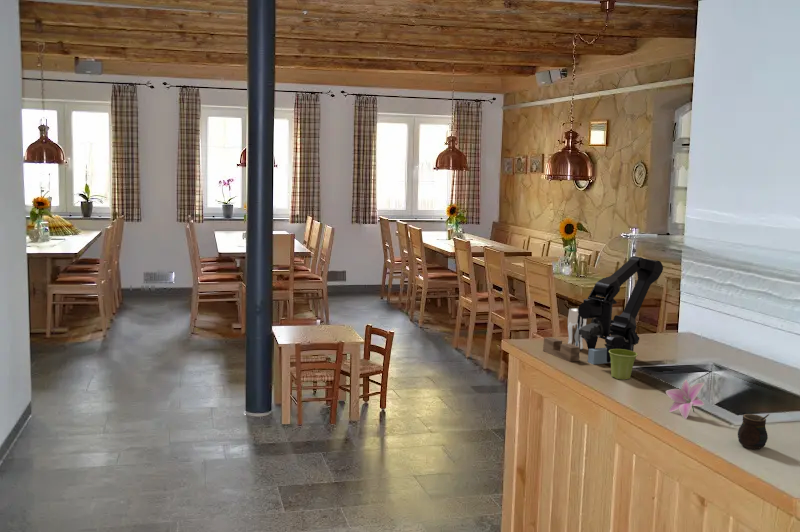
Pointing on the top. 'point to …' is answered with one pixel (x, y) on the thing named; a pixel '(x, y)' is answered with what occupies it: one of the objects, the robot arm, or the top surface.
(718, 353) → the top surface
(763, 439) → the mate gourd
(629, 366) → the plant pot
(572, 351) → the rail
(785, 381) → the top surface
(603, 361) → the light blue block
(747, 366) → the top surface
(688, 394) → the lily
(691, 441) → the top surface
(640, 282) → the robot arm
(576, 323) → the beer glass
